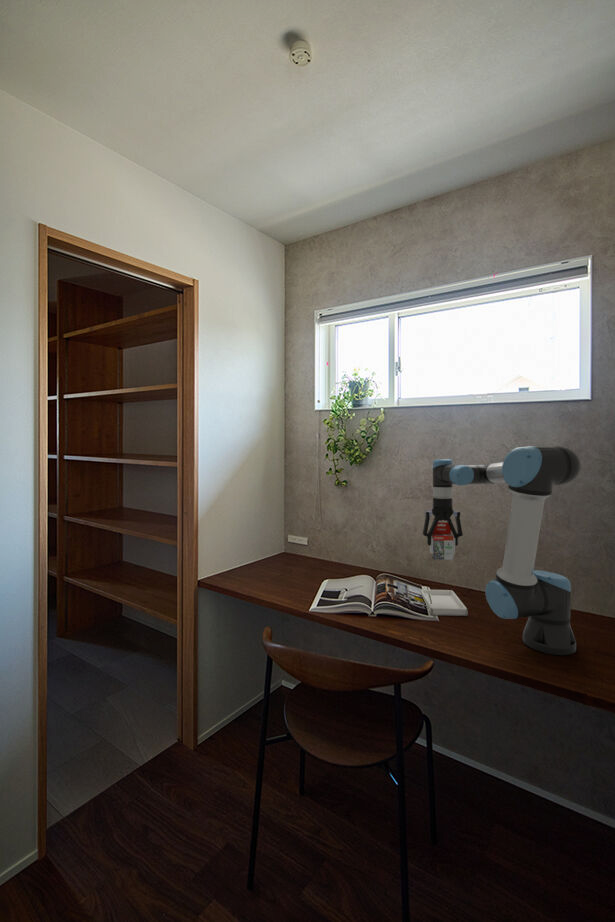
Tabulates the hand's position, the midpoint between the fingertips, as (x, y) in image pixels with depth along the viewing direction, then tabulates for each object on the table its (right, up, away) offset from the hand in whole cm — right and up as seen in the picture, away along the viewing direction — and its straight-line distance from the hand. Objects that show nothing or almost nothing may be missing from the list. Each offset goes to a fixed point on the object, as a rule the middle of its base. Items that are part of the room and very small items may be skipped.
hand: (442, 553), depth 176 cm
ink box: (0, -2, 0) cm, 2 cm away
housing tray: (0, -21, -1) cm, 21 cm away
